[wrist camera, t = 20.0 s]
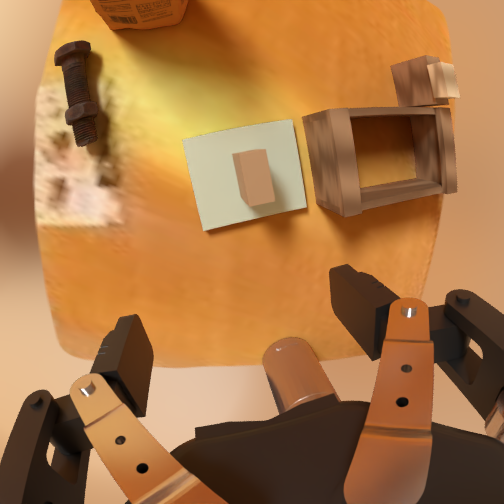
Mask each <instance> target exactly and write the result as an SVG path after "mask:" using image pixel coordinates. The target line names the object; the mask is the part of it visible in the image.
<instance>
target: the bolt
mask: <svg viewBox="0 0 504 504" xmlns="http://www.w3.org/2000/svg"><path fill="white" fill-rule="evenodd" d="M90 50H91V46H90V43H89V42H87V41H82V40H81V41H74V42H71V43H67V44H65V45H63V46H62V47H60V48H59V49H58V50H57V51H56V52H55V57H54V61H55V66H62V71H63V75H64V83H65V89H66V96H67V100H68V101H67V102H68V104H69V105H68V106H69V109H68V110H67V111H66V112H65V118H66V124H67V125H72V126H73V131H74V132H73V133H75V134H74V136H75V137H74V138H75V140H76V145H77V146H78V147H80V146H81V147H83V146H85V145H87V144H90V143H92V142H94V141H96V140H97V138H98V137H97V135H96V134H97V133H96V130H95V129H96V128H95V126H94V125H95V124H94V121H93V120H94V119H93V118H94V117H95V116H96V115H97V113H98V108H97V103H95V102H93V101H90V99H89V98H90V97H89V95H88V94H89V91H88V86H87V85H88V84H87V80H86V79H87V78H86V72H85V58H87V57H88V55H89V53H90Z"/></svg>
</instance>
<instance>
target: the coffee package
mask: <svg viewBox="0 0 504 504" xmlns="http://www.w3.org/2000/svg"><path fill="white" fill-rule="evenodd" d="M90 1H91V3H92V5H93V6H94V8H95V10H96V12H97V13H98V14H99V15H100V16H101V17H102V19H103V20H104V21H105V23H106V24H107V25H108V26H109V28H110V29H111V30H117V29H123V28H133V29H153V28H158V27H162V26H171V25H177V24H179V23H180V22H181V20H182V18H183V15H184V12H185V10H186V7H187V4H188V0H90Z"/></svg>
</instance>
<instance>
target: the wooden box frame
mask: <svg viewBox="0 0 504 504" xmlns="http://www.w3.org/2000/svg"><path fill="white" fill-rule="evenodd" d="M438 62H440V60H439V58H437V57H432V56H427V55H425V56H422V57H418V58H415V59H411V60H408V61H405V62H401V63H398V64H395V65H392V66H391V70H392V74H393V78H394V83H395V88H396V93H397V98H398V103H399V107H371V108H350V109H348V108H339V109H328V110H324V111H321V112H317V113H314V114H310V115H307V116H304V117H302V119H303V124H304V129H305V135H306V140H307V146H308V152H309V158H310V164H311V170H312V176H313V183H314V189H315V196H316V203H317V204H318V205H320V206H322V207H324V208H327V209H329V210H331V211H333V212H335V213H337V214H339V215H341V216H343V217H349V216H353V215H358V214H362V210H366V209H370V208H375V207H379V206H384V205H388V204H393V203H397V202H402V201H407V200H411V199H416V198H420V197H425V196H430V195H434V194H439V193H445V194H451V193H455V192H457V172H456V157H455V144H454V135H453V127H452V119H451V112H450V108H442V107H438V108H428V107H425V106H438V105H449V102H448V99H441V98H434V96H433V91H432V86H431V81H430V76H429V72H428V68H427V65H430V64H434V63H438ZM392 116H410V121H411V128H412V135H413V143H414V152H415V162H416V174H417V178H415V179H409V180H404V181H398V182H392V183H387V184H381V185H376V186H370V187H365V188H360V185H359V177H358V169H357V161H356V154H355V147H354V140H353V134H352V128H351V122H350V119H354V118H369V117H392Z"/></svg>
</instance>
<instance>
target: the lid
mask: <svg viewBox="0 0 504 504" xmlns="http://www.w3.org/2000/svg"><path fill="white" fill-rule="evenodd" d="M182 141H183V146H184V150H185V155H186V159H187V164H188V168H189V173H190V177H191V182H192V186H193V190H194V194H195V199H196V203H197V207H198V211H199V215H200V219H201V223H202V227H203V231H205V230H209V229H214V228H218V227H222V226H226V225H230V224H234V223H239V222H243V221H247V220H251V219H256V218H260V217H265V216H269V215H273V214H278V213H282V212H287V211H291V210H296V209H300V208H305V207H307V205H306V199H305V192H304V185H303V179H302V173H301V167H300V161H299V155H298V149H297V144H296V138H295V133H294V128H293V122H292V119H289V120H281V121H275V122H268V123H262V124H256V125H250V126H244V127H239V128H233V129H228V130H223V131H219V132H214V133H209V134H205V135H200V136H196V137H192V138H188V139H184V140H182Z"/></svg>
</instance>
